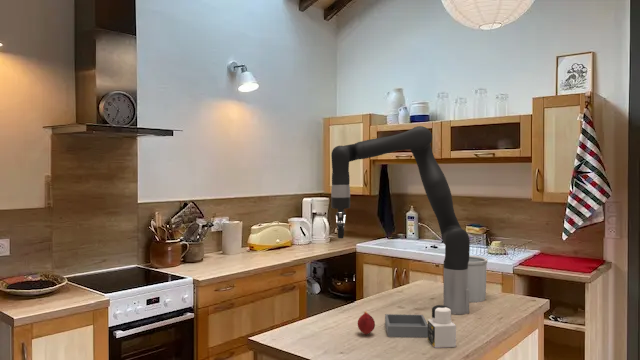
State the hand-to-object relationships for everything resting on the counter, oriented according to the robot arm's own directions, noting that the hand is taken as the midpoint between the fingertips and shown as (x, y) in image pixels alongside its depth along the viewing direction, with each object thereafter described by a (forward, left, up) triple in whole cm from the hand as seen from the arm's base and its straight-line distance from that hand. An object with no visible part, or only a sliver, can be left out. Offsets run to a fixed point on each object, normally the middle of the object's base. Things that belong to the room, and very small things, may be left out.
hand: (341, 236), depth 196 cm
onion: (-9, +29, -30) cm, 42 cm away
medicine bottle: (-33, +36, -30) cm, 57 cm away
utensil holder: (-55, -20, -30) cm, 66 cm away
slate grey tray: (-23, +24, -29) cm, 44 cm away
